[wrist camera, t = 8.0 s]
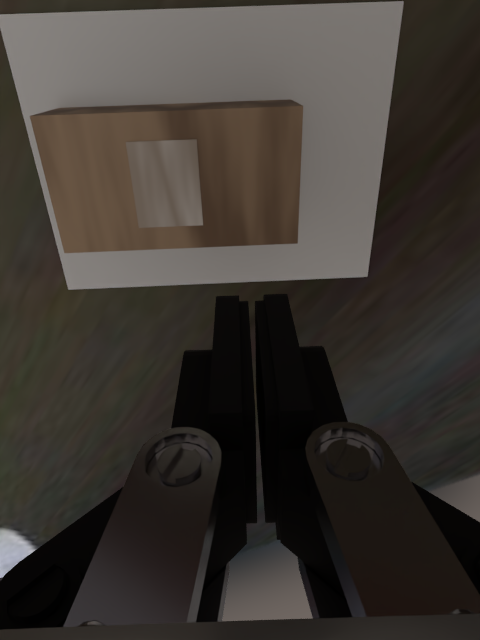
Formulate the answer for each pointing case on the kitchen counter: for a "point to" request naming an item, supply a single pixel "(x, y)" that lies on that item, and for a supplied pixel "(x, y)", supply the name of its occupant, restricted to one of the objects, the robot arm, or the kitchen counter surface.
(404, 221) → the kitchen counter surface
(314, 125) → the grey mat
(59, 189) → the walnut block
